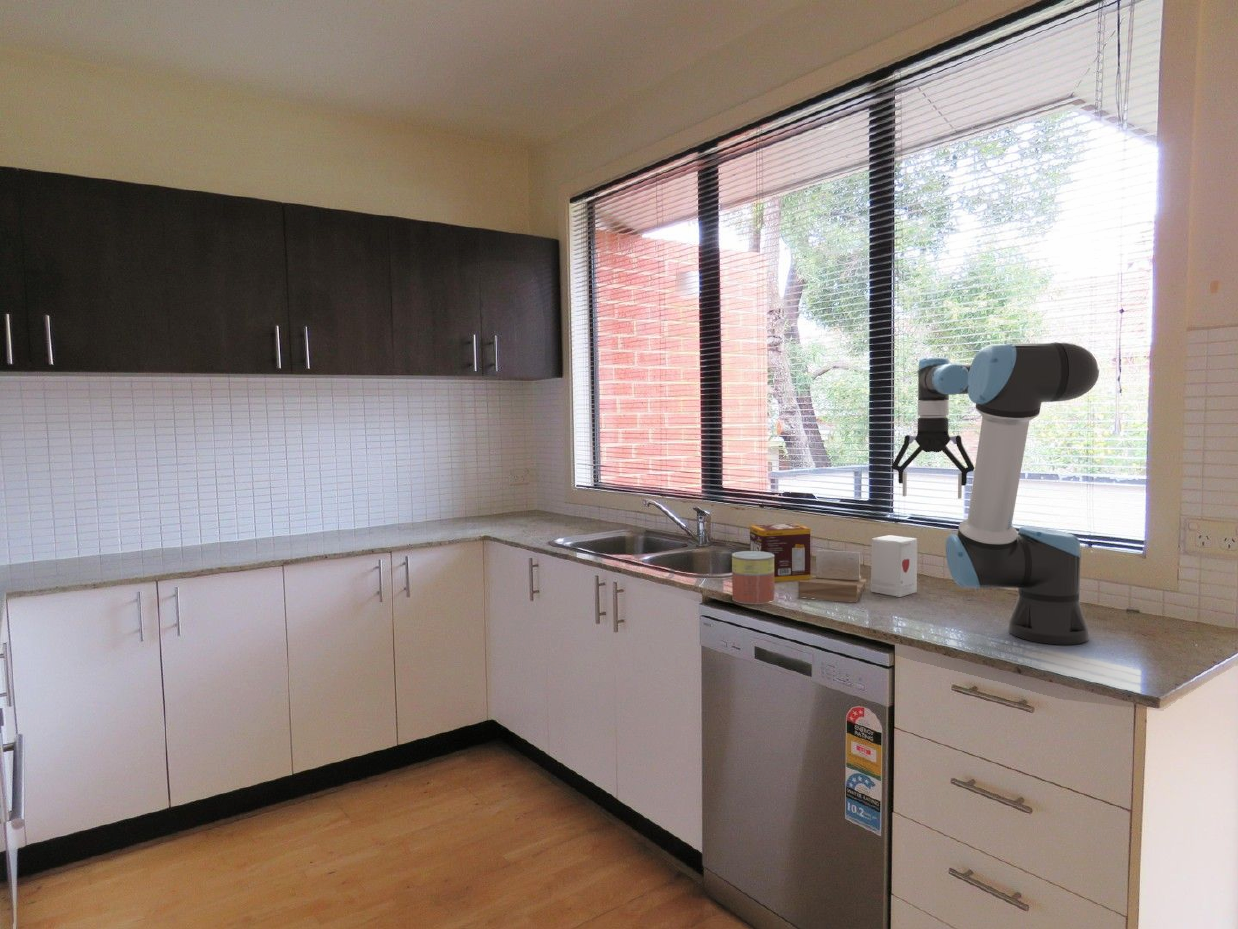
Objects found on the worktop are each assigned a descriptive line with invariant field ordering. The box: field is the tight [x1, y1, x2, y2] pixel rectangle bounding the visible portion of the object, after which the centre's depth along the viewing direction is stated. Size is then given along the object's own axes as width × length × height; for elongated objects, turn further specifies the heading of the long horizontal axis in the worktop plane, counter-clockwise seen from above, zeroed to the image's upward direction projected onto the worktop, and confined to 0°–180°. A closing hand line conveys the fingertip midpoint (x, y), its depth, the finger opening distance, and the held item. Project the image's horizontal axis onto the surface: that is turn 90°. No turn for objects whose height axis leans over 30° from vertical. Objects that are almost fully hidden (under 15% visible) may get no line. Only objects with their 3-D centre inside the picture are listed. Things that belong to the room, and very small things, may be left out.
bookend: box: [815, 549, 862, 581], centre depth 218 cm, size 4×12×8 cm, turn 66°
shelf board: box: [797, 575, 867, 603], centre depth 210 cm, size 22×15×4 cm
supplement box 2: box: [870, 534, 918, 598], centre depth 207 cm, size 9×9×15 cm
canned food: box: [731, 550, 775, 605], centre depth 203 cm, size 11×11×12 cm
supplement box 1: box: [749, 522, 812, 583], centre depth 228 cm, size 10×15×16 cm
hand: (931, 497), depth 201 cm, fingers open, 13 cm apart
